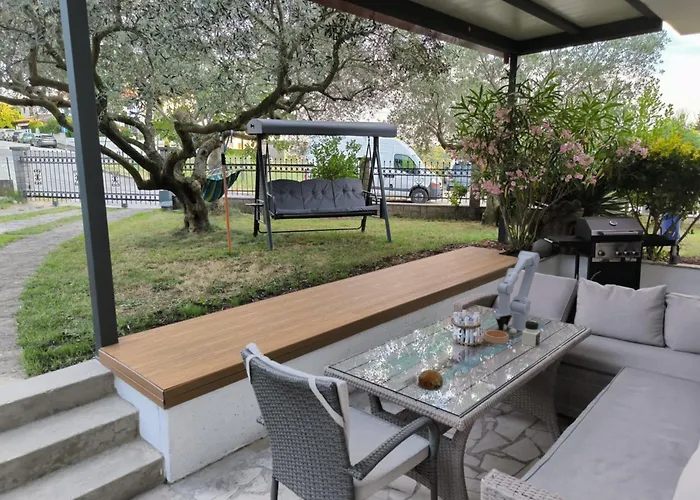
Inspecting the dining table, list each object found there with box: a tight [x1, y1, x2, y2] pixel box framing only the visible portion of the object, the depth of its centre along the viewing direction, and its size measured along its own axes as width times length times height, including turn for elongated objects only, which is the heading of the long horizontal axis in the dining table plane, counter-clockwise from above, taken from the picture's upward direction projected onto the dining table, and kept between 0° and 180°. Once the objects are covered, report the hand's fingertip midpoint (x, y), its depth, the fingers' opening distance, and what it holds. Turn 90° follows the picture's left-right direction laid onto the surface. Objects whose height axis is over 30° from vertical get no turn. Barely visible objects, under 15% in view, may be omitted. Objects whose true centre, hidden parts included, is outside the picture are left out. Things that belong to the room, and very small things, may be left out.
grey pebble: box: [509, 328, 517, 336], centre depth 256 cm, size 4×4×4 cm
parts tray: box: [494, 326, 524, 341], centre depth 258 cm, size 12×12×2 cm
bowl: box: [483, 329, 510, 345], centre depth 249 cm, size 12×12×4 cm
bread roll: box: [418, 369, 444, 390], centre depth 197 cm, size 10×10×8 cm
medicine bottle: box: [521, 320, 541, 348], centre depth 243 cm, size 7×7×12 cm
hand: (502, 328), depth 260 cm, fingers closed on cream pebble, 4 cm apart
